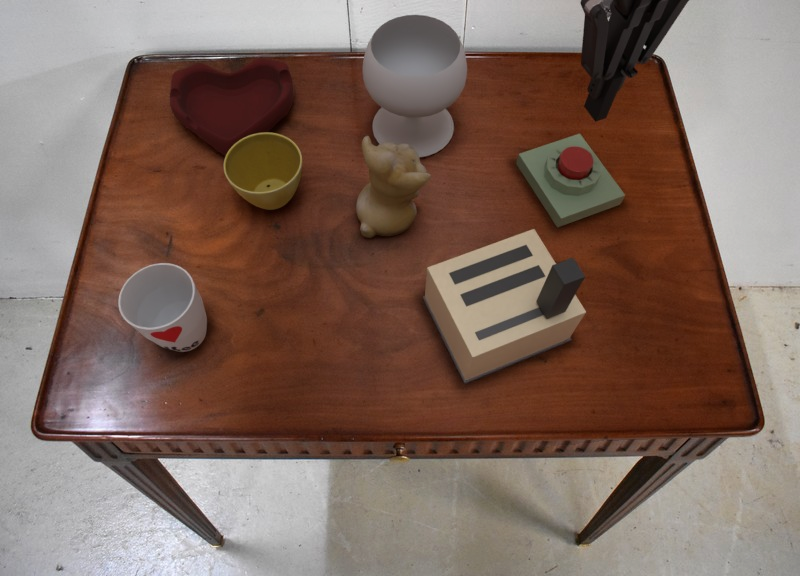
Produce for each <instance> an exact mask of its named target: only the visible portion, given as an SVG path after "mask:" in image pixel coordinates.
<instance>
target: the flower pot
mask: <svg viewBox="0 0 800 576" xmlns="http://www.w3.org/2000/svg"><path fill="white" fill-rule="evenodd" d="M223 172H224V176H225V178H226V179H227V181H228V183H229V184H230V185H231V187H232V188H233V190H235V192H237V194H238V195H239V196H240V197H242V198H243V199H244V200H245V201H247V202H248V203H250V204H251V205H253V206H255V207H257V208H260V209H263V210H268V211H273V210H278V209H280V208H282V207H284V206H286V205H287V204H289V202H290V201H291V200H292V198H293V197H294V195H295V193H296V191H297V189H298V187H299V184H300V181H301V177H302V172H303V156H302V152H301V149H300V148H299V147H298V144H297V143H295V142H294V141H293V140H292V139H290V138H289V137H288V136H285V135H284V134H280V133H276V132H270V131H269V132H268V133H267V132H265V133H256V134H252V135H249V136H247V137H244V138H243V139H241V140H239V141H238V142H237V143H235V144H234V145H233V146H232V147H231V148H230V149H229V151H228V153H227V154H226V156H224V160H223Z"/></svg>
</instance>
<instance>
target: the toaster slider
mask: <svg viewBox="0 0 800 576" xmlns="http://www.w3.org/2000/svg"><path fill="white" fill-rule="evenodd" d="M585 278H586V275H585V273H584V272H583V270H582V268H580V266H579V264H578V262H577V261H576V260H575V258H574V257H571V258H569V259H565V260H562V261H560V262H557V263H556V264H555V265H552V267H551V270H550V272H549V274H548V276H547V278H546V281H545V283H544V285H543V287H542V290H541V292H540V294H539V296H538V298H537V301H536V302H537V304H538V306H539V307H540V309H541V311H542V312H543V314H544V316H545V318H546V319H549V318H551V317H554V316H556V315H559V314H561V313H564V312H566V310H567V308H568V306H569V305H570V303H571V301H572V299H573V297H574V296H575V295H576V294H577V292H578V290H579V289H580V287H581V285H582V283H583V282H584V279H585Z"/></svg>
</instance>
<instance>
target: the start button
mask: <svg viewBox="0 0 800 576" xmlns="http://www.w3.org/2000/svg"><path fill="white" fill-rule="evenodd" d="M592 165H593V157H592V155H591V154H590V152H589V151H587V150H586V149H584V148H581V147H576V146H574V147H568V148H566V149H565V150H563V151H562V153H561V155H560V158H559V161H558V165H557V166H558V170H559V172H560V173H561V174H562V175H563V176H564V177H566V178H568V179H571V180H580V179H583V178H585V177H586V176H587V175H588V174H589V172H590V170H591V168H592Z"/></svg>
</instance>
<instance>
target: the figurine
mask: <svg viewBox="0 0 800 576" xmlns="http://www.w3.org/2000/svg"><path fill="white" fill-rule="evenodd" d="M361 151H362V155H363V159H364V162H365V164H366V166H367V169H368V178H369V183H367V184H366V185H365V186H364V187H363V188H362V190H361V191H360V192H359V194H358V196H357V199H356V206H355V210H356V211H355V212H356V215H357V218H358V220H359V222H360V227H359V231H360V233H361V235H362V236H363V237H364V238H367V239H372V238H374V237H375V236H381V237H393V236H397V235H399V234H403V232H405V231H407V230H408V229H410V227H411V226H412V224H413V222H414V221H415V218H416V217H417V214H418V211H417V206H416V204H415V202H414V201H413V200H415V199H416V198H418V196H419V194H420V189H422V188H423V187H424V186H425V185H426V184H427V183H428V182H429V181H430V180H431V178H432V175H431V173H429V172H427V169H426V167H425V166H424V165H423V163H421V159H420V157H419V155H418V153H417V151H416V150H415V149H414V148H413V147H412V146H410V145H408V144H400V145H396V144H394V143H390V142H385V143H381V144H379V143H378V145H374V144H373V143H372V139H371V137H370V136H369V135H366V136H364V137H363V139H362V141H361Z"/></svg>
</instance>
